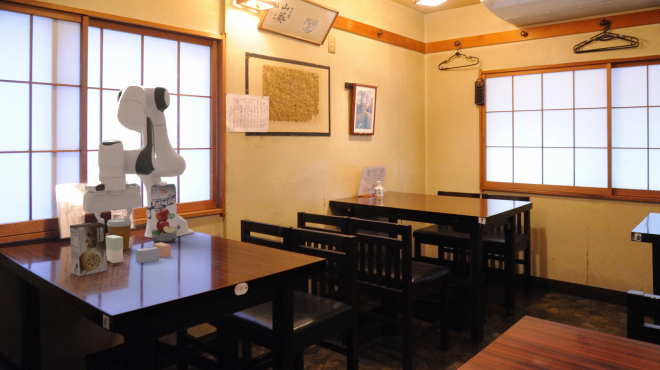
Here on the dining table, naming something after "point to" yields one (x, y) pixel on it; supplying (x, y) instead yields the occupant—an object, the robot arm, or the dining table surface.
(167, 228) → the juice carton
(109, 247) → the green block
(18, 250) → the dining table surface
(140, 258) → the slate block
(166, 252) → the terracotta block
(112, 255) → the cream block
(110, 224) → the disposable coffee cup
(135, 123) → the robot arm
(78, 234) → the food box
